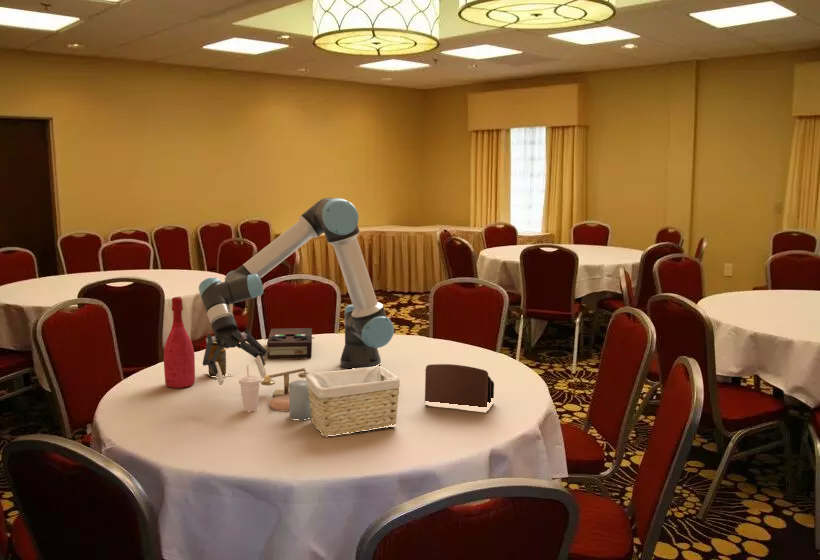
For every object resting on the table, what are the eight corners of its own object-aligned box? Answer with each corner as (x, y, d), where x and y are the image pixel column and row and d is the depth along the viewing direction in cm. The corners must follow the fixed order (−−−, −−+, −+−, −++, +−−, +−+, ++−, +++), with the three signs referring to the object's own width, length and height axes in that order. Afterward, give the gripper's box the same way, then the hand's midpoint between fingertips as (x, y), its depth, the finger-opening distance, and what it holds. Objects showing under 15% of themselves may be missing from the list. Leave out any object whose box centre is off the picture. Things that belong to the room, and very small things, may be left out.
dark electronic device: (314, 324, 303) (314, 341, 274) (314, 342, 304) (314, 360, 275) (268, 325, 301) (263, 342, 271) (268, 343, 302) (263, 361, 273)
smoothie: (241, 406, 219) (240, 362, 217) (262, 406, 220) (261, 362, 218) (238, 413, 213) (236, 368, 211) (260, 413, 213) (259, 367, 211)
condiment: (222, 370, 258) (221, 338, 257) (233, 376, 252) (232, 342, 250) (203, 374, 254) (202, 341, 252) (213, 379, 247) (212, 345, 246)
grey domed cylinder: (314, 412, 215) (314, 380, 213) (312, 420, 208) (312, 387, 206) (291, 412, 214) (290, 380, 213) (288, 420, 207) (287, 387, 206)
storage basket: (319, 441, 192) (318, 388, 190) (304, 421, 207) (303, 372, 205) (401, 429, 201) (402, 379, 199) (382, 411, 216) (382, 364, 214)
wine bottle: (201, 383, 243) (198, 296, 239) (181, 390, 234) (177, 300, 230) (179, 379, 247) (176, 293, 243) (158, 386, 238) (154, 298, 234)
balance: (312, 392, 234) (312, 366, 233) (311, 396, 229) (311, 370, 228) (262, 392, 234) (261, 366, 232) (259, 397, 229) (259, 370, 227)
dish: (310, 398, 228) (310, 394, 228) (306, 410, 216) (306, 406, 216) (272, 398, 227) (272, 394, 227) (266, 410, 215) (266, 406, 215)
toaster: (486, 414, 215) (488, 368, 213) (424, 406, 221) (424, 362, 219) (493, 404, 224) (495, 360, 222) (433, 397, 231) (434, 354, 229)
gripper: (255, 323, 236) (276, 378, 226) (180, 333, 221) (200, 392, 211) (262, 310, 231) (284, 366, 221) (186, 319, 216) (206, 379, 206)
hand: (243, 379), depth 216 cm, fingers open, 13 cm apart
